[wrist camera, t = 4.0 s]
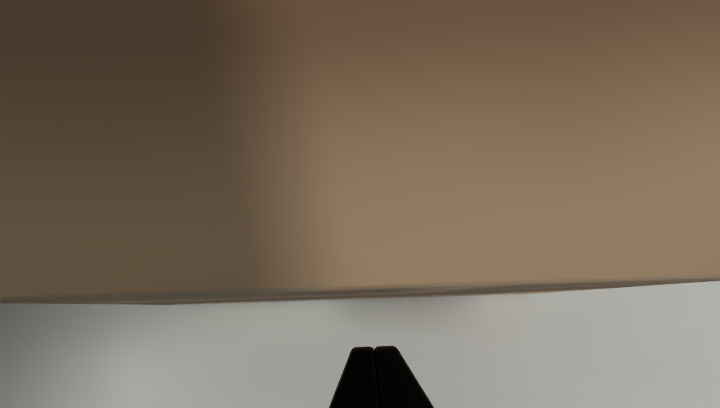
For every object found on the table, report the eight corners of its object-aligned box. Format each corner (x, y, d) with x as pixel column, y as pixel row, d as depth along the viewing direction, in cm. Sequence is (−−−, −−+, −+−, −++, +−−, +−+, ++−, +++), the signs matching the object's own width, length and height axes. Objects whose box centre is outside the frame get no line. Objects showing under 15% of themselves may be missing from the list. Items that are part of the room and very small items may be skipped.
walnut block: (537, 292, 17) (888, 269, 6) (176, 304, 16) (-154, 301, 5) (524, 178, 17) (815, -28, 7) (181, 186, 17) (-98, -21, 6)
